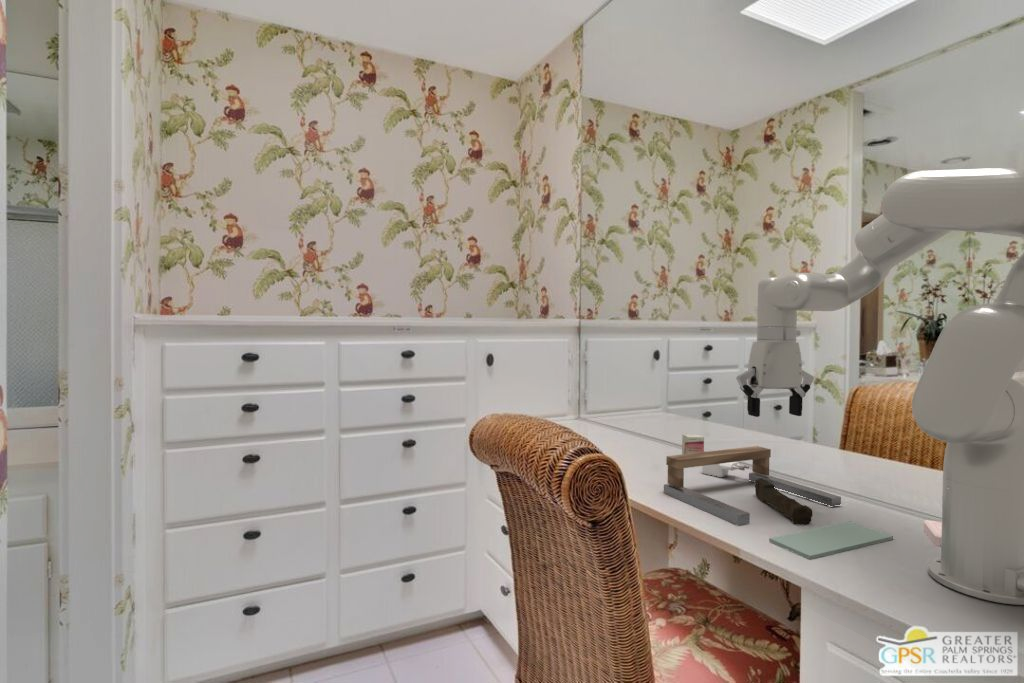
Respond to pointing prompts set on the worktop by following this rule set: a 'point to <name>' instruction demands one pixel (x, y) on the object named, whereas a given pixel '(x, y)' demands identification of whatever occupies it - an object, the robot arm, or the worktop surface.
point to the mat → (830, 539)
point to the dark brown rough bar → (783, 502)
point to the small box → (692, 443)
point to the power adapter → (722, 468)
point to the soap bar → (933, 531)
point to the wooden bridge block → (716, 461)
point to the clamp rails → (739, 515)
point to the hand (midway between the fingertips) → (774, 415)
